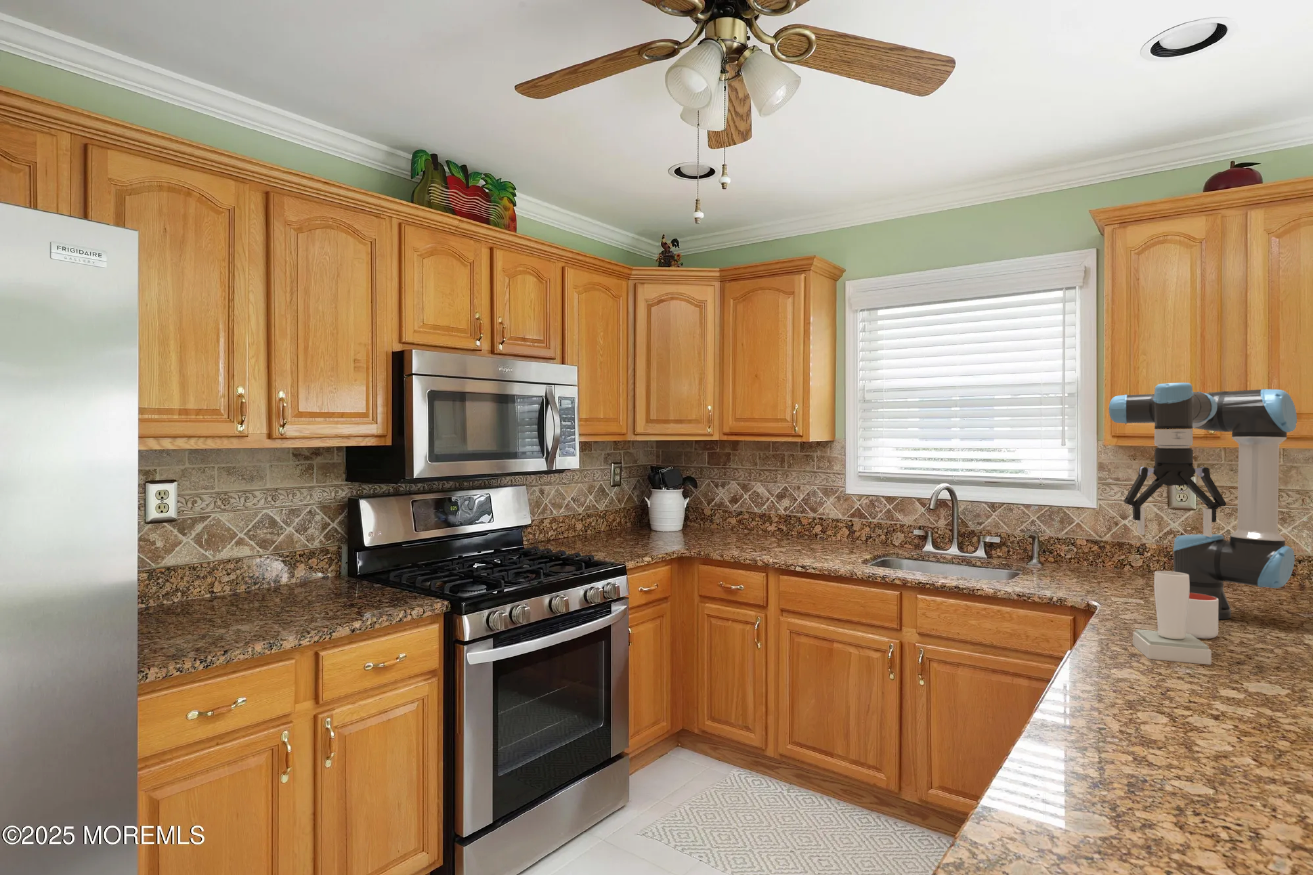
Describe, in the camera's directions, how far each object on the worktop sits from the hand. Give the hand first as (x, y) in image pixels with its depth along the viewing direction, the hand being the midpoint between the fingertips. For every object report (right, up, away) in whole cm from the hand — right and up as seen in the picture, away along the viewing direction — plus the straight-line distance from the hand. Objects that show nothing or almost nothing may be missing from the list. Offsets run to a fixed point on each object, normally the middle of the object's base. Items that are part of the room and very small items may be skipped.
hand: (1173, 535), depth 172 cm
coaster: (-4, -27, -5) cm, 28 cm away
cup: (+15, -28, +13) cm, 34 cm away
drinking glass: (-4, -24, -5) cm, 24 cm away
